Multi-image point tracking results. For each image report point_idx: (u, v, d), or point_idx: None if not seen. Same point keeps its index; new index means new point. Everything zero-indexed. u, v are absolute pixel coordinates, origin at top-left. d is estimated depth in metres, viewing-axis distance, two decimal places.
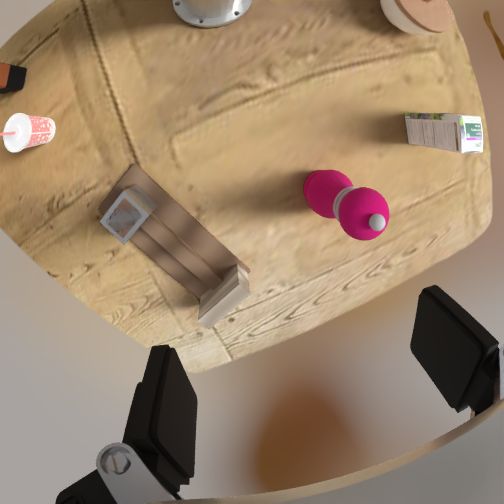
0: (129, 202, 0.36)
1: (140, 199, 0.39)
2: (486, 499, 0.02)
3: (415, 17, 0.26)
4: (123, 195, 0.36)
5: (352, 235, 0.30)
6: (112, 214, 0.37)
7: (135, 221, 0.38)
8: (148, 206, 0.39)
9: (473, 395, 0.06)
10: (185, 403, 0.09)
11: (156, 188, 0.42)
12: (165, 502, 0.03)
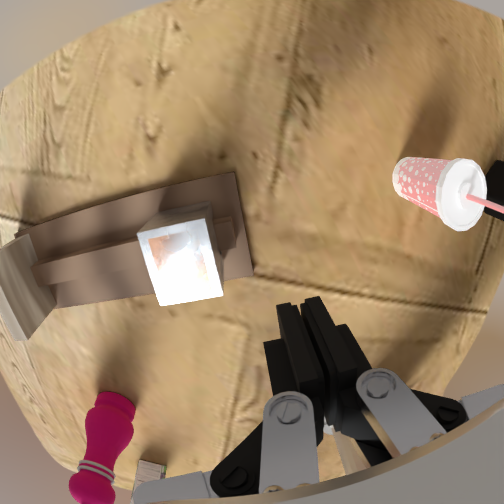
0: (199, 292, 0.21)
1: None
2: (486, 499, 0.02)
3: None
4: (216, 290, 0.21)
5: (74, 488, 0.19)
6: (200, 251, 0.20)
7: (163, 281, 0.21)
8: None
9: (339, 418, 0.07)
10: None
11: None
12: (165, 502, 0.03)
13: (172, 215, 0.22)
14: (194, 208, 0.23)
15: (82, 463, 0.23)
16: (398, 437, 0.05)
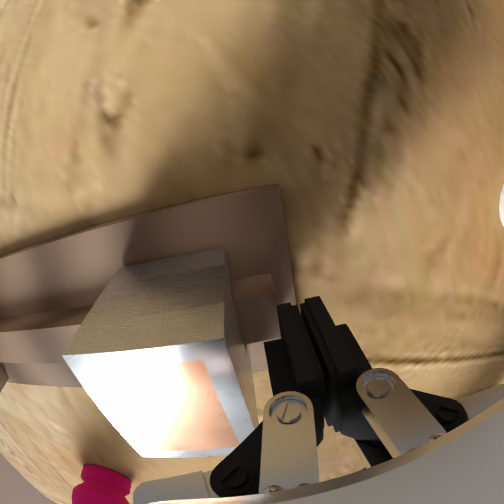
0: (214, 448, 0.09)
1: None
2: (486, 499, 0.02)
3: None
4: None
5: None
6: (214, 399, 0.08)
7: (139, 433, 0.08)
8: None
9: (339, 418, 0.07)
10: None
11: None
12: (165, 502, 0.03)
13: (144, 292, 0.10)
14: (192, 272, 0.10)
15: None
16: (398, 437, 0.05)
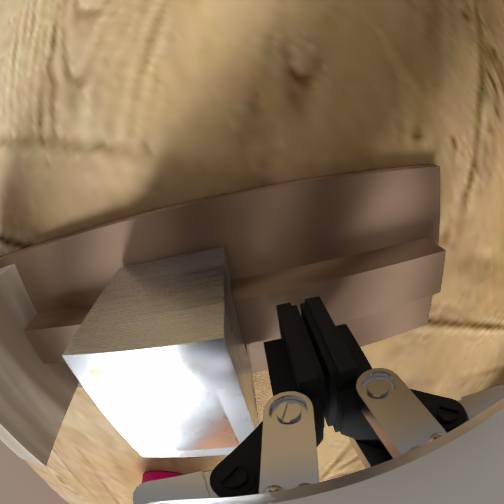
0: (215, 448, 0.09)
1: None
2: (486, 499, 0.02)
3: None
4: None
5: None
6: (214, 398, 0.08)
7: (139, 433, 0.08)
8: None
9: (339, 418, 0.07)
10: None
11: None
12: (165, 502, 0.03)
13: (144, 292, 0.10)
14: (192, 272, 0.10)
15: None
16: (398, 437, 0.05)
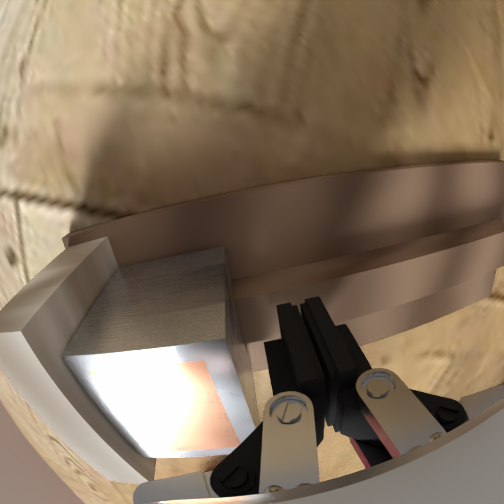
0: (216, 448, 0.09)
1: None
2: (486, 499, 0.02)
3: None
4: None
5: None
6: (215, 399, 0.08)
7: (140, 433, 0.08)
8: None
9: (339, 418, 0.07)
10: None
11: (443, 311, 0.16)
12: (165, 502, 0.03)
13: (144, 292, 0.10)
14: (192, 272, 0.10)
15: None
16: (398, 437, 0.05)
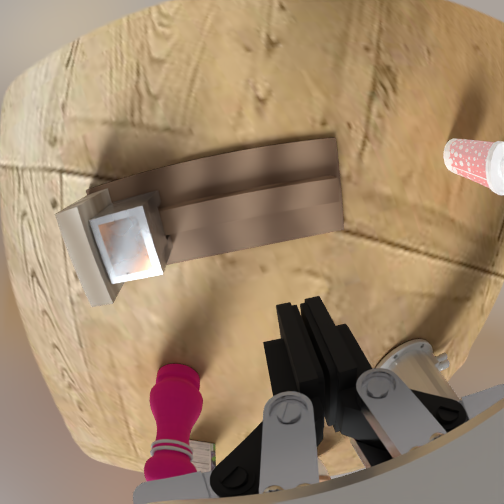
0: (142, 271, 0.23)
1: None
2: (486, 499, 0.02)
3: None
4: (156, 269, 0.23)
5: (156, 473, 0.21)
6: (140, 235, 0.22)
7: (112, 262, 0.22)
8: None
9: (339, 418, 0.07)
10: None
11: (295, 235, 0.30)
12: (165, 502, 0.03)
13: (122, 204, 0.24)
14: (141, 197, 0.25)
15: (158, 443, 0.25)
16: (398, 437, 0.05)
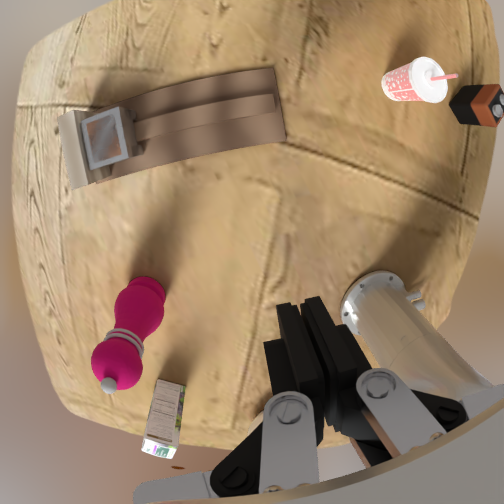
0: (114, 156, 0.28)
1: (115, 162, 0.30)
2: (486, 499, 0.02)
3: None
4: (124, 154, 0.28)
5: (100, 352, 0.25)
6: (115, 127, 0.26)
7: (92, 151, 0.27)
8: (104, 165, 0.30)
9: (339, 418, 0.07)
10: None
11: (243, 144, 0.35)
12: (165, 502, 0.03)
13: None
14: None
15: (110, 333, 0.30)
16: (398, 437, 0.05)
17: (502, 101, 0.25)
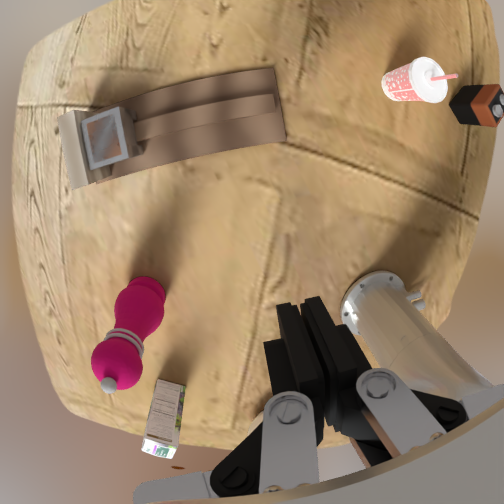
0: (114, 156, 0.28)
1: (115, 162, 0.30)
2: (486, 499, 0.02)
3: None
4: (124, 154, 0.28)
5: (100, 352, 0.26)
6: (115, 127, 0.26)
7: (93, 151, 0.27)
8: (105, 165, 0.30)
9: (339, 418, 0.07)
10: None
11: (243, 144, 0.35)
12: (165, 502, 0.03)
13: None
14: None
15: (110, 332, 0.30)
16: (398, 437, 0.05)
17: (502, 101, 0.25)
